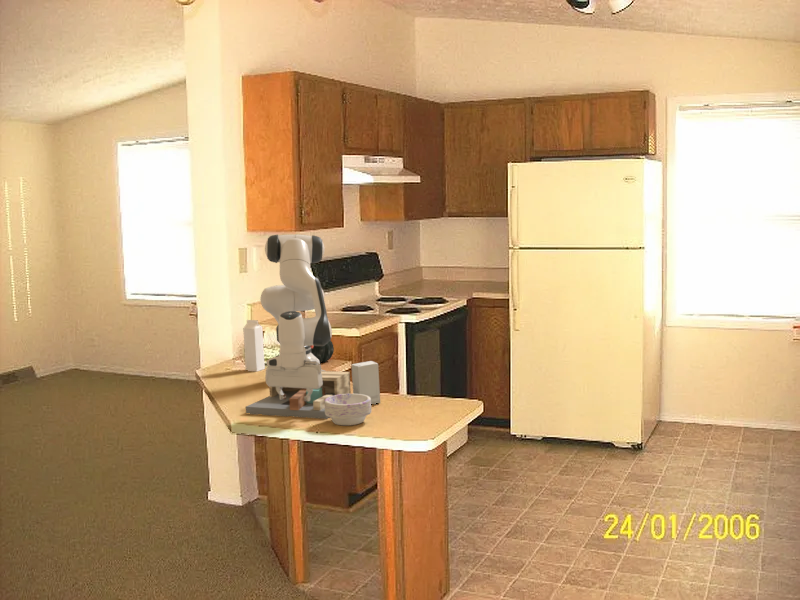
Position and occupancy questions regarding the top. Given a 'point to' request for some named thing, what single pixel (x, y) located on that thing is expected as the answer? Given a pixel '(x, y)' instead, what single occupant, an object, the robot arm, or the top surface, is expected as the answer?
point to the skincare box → (366, 380)
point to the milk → (253, 346)
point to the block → (315, 395)
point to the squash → (323, 351)
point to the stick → (320, 402)
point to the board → (284, 407)
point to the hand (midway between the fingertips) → (295, 400)
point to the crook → (300, 399)
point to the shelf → (326, 383)
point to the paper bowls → (348, 408)
